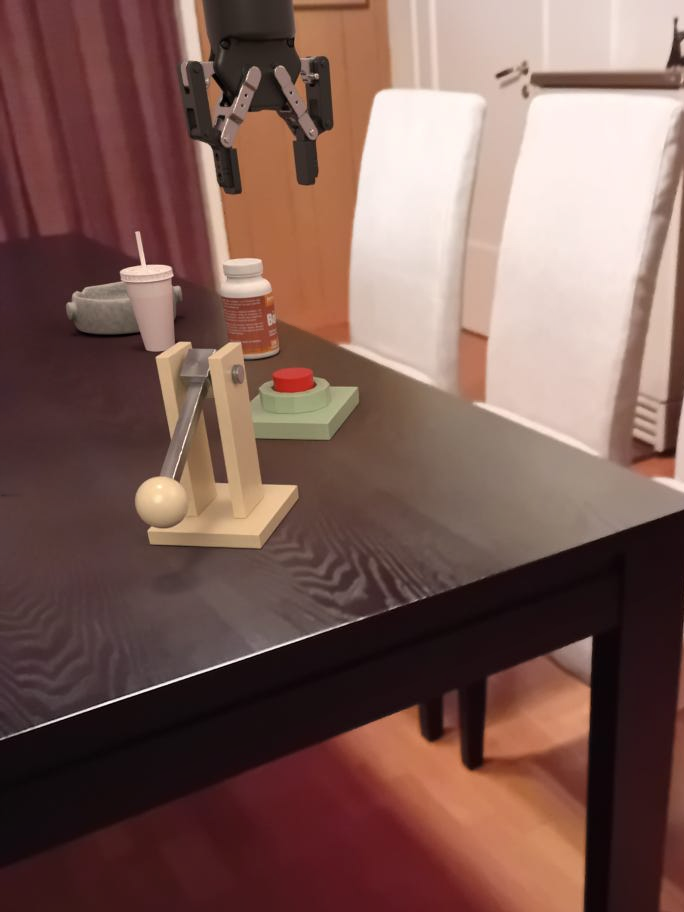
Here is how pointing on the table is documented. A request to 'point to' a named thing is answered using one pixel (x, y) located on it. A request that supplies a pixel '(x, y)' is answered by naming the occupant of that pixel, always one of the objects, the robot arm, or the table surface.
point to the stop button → (293, 380)
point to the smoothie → (151, 301)
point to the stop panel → (302, 411)
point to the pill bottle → (249, 308)
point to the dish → (108, 309)
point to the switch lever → (177, 448)
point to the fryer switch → (244, 496)
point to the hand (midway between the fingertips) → (270, 188)
